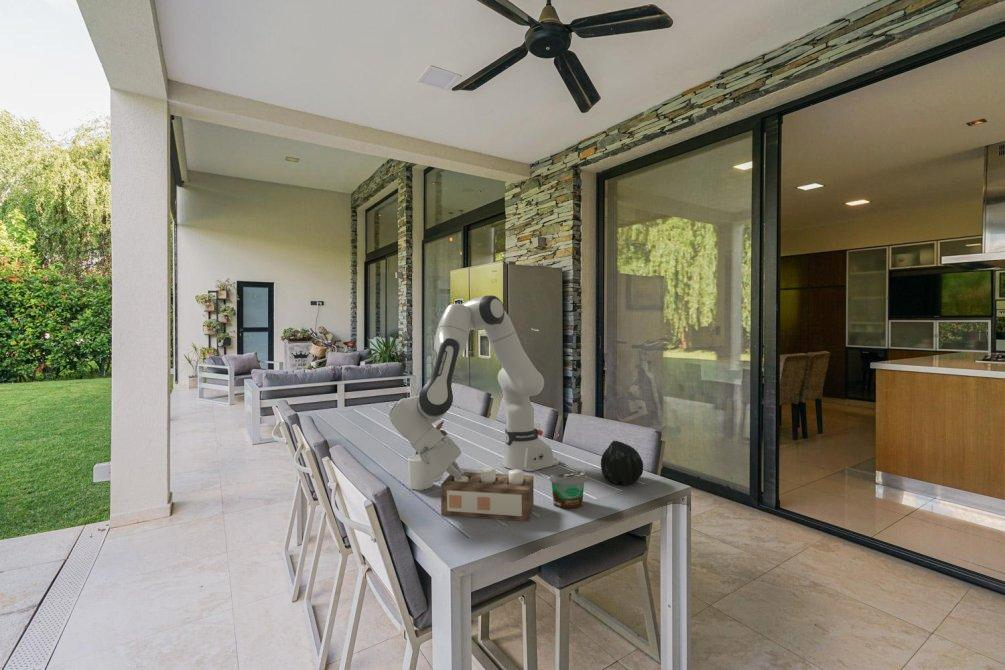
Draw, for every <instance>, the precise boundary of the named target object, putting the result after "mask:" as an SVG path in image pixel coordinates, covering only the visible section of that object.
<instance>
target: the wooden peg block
mask: <svg viewBox="0 0 1005 670" xmlns="http://www.w3.org/2000/svg"><path fill="white" fill-rule="evenodd" d="M462 472H463V474H462V476H467V477H468V482H459V481H454V478H455V477H454V476H453V475H451V474H449V475H448V476H446V478H445V479H444V480H443V482H442V483H441V484H440V508H441V509H440V510H441V512H440V513H441V516H453V517H455V516H456V517H468V518H482V519H495V520H497V519H498V520H508V521H510V520H511V521H522V522H530V518H531V514H532V511H533V507H534V491H535V489H534V486H535V485H534V475H528V474H527V475H526V474H523V475H524V485H510V484H509V473H508V474H506V473H496V483H495V484H493V483H481V472H472V471H462ZM447 490H454V491H470V492H486V493H501V494H517V495H522V516H512V515H498V514H483V513H469V512H455V511H447Z"/></svg>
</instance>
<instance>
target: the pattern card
mask: <svg viewBox="0 0 1005 670" xmlns="http://www.w3.org/2000/svg"><path fill="white" fill-rule="evenodd" d="M447 511H455V512H469V513H483V514H498V515H512V516H522V495H517V494H501V493H486V492H470V491H454V490H447Z"/></svg>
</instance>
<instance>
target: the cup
mask: <svg viewBox="0 0 1005 670" xmlns="http://www.w3.org/2000/svg"><path fill="white" fill-rule="evenodd" d="M415 454H416V453H415ZM415 454H413V455H410V456H408V460H407V461H408V487H409V489H411V490H413V489H415V490H414V491H423V490H422V489H426V490H429V489H431V488H432V487H433V486H434V483H438V482H441V480H442V479H443V476H444V473H443V474H442V475H441V476H440V477H439V478H437V479H436V478H434V477H433V476H432V475H431V474H430V473H429V472H428V470H427V469H426V468H425V467H424V465H423V464H422V462H421V458H420V454H416V455H415ZM430 487H431V488H430ZM428 488H429V489H428Z"/></svg>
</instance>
